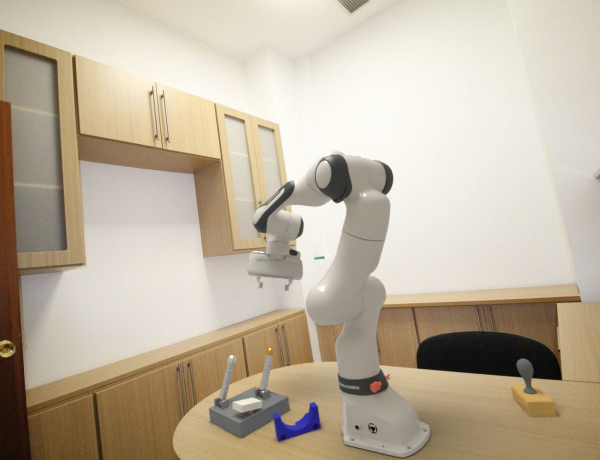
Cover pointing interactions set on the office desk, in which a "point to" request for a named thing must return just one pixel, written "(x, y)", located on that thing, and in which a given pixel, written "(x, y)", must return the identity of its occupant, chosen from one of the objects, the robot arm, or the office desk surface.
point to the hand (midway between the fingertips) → (273, 289)
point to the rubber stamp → (531, 393)
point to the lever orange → (266, 370)
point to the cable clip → (297, 424)
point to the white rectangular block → (247, 405)
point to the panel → (248, 412)
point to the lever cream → (226, 379)
